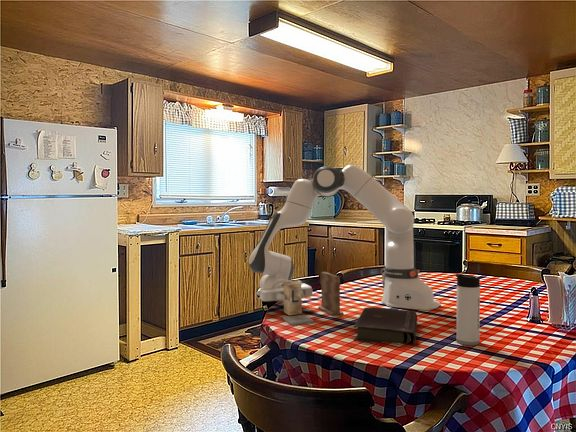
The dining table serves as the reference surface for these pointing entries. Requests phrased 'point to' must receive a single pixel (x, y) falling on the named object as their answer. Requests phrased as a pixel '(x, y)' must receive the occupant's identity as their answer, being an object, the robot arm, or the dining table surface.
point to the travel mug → (468, 310)
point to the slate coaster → (297, 320)
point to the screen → (330, 294)
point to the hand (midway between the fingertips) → (293, 297)
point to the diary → (386, 325)
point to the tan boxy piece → (293, 298)
